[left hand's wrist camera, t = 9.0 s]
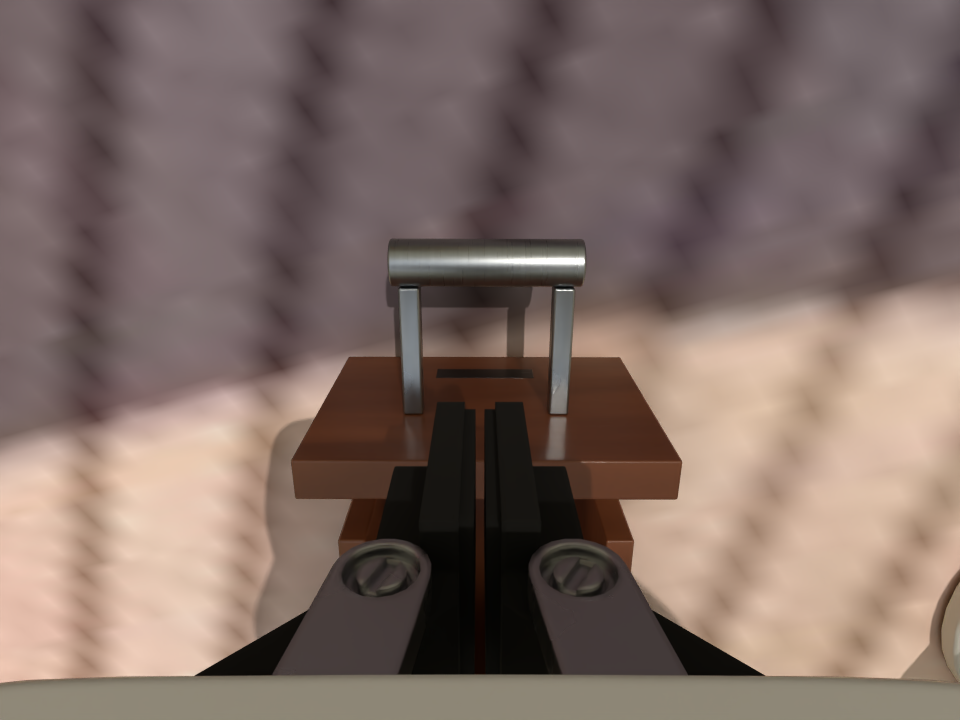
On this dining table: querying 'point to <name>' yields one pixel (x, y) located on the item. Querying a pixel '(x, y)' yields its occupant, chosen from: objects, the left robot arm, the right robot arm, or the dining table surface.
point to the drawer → (488, 403)
